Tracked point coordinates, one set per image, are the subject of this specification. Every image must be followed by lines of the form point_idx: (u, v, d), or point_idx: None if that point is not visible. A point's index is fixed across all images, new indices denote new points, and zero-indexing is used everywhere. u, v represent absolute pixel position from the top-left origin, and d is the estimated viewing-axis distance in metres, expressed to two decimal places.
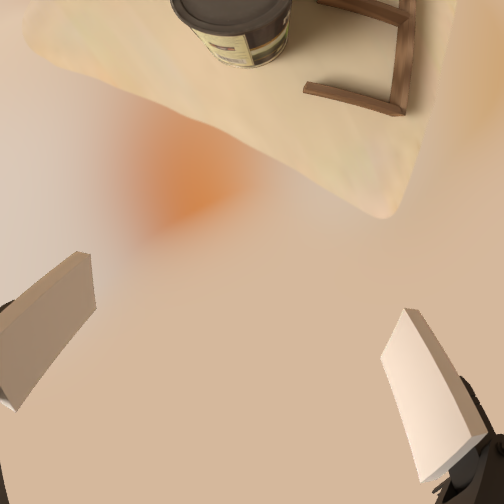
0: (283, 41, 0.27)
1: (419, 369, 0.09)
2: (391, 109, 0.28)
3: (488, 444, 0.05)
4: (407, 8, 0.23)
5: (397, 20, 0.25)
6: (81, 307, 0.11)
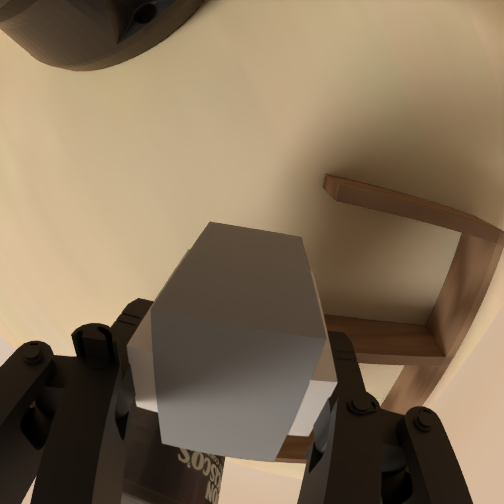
0: None
1: None
2: None
3: (336, 404, 0.07)
4: (448, 336, 0.17)
5: None
6: None
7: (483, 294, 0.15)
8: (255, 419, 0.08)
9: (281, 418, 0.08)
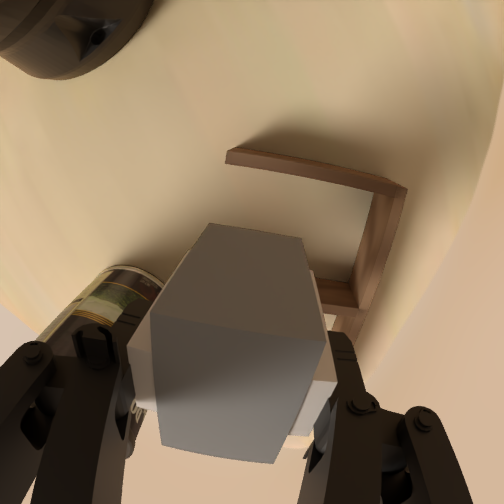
0: None
1: None
2: None
3: (336, 404, 0.07)
4: (361, 289, 0.21)
5: None
6: None
7: (388, 247, 0.19)
8: (255, 422, 0.08)
9: (281, 420, 0.08)
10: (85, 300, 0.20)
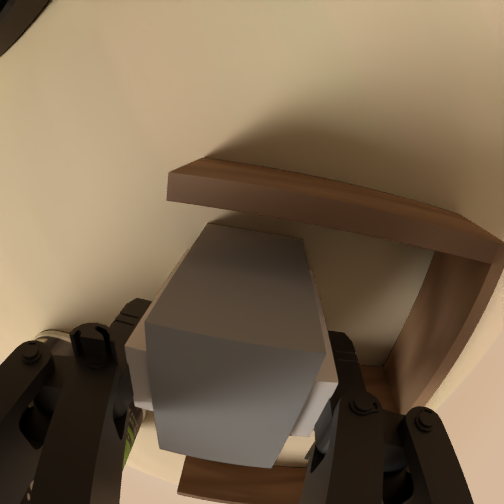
0: (130, 450, 0.16)
1: None
2: None
3: (338, 404, 0.06)
4: (407, 393, 0.12)
5: None
6: None
7: (464, 342, 0.09)
8: (253, 429, 0.07)
9: (279, 428, 0.07)
10: None
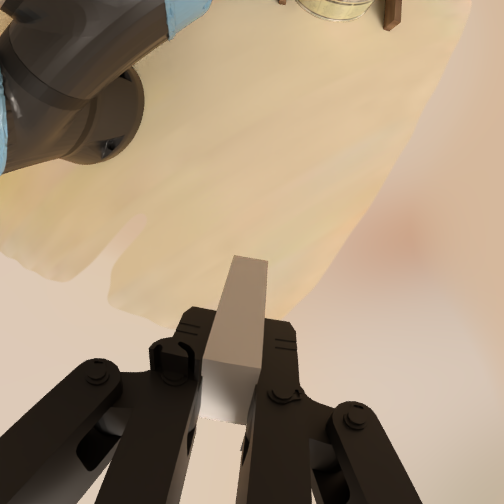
0: None
1: None
2: None
3: (256, 394, 0.07)
4: None
5: None
6: None
7: None
8: None
9: None
10: None
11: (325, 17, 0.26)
